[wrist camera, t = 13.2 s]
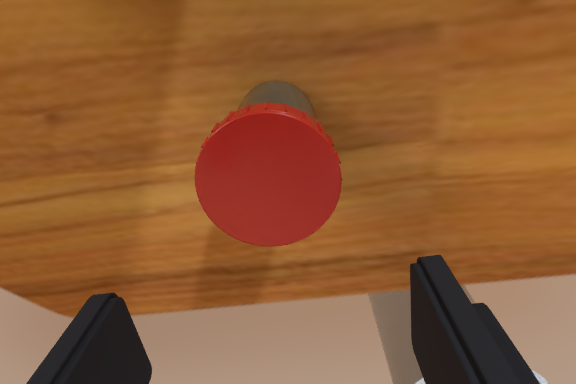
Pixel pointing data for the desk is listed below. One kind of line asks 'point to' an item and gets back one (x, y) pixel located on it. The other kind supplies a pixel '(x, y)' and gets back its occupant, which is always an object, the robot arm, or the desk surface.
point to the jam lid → (268, 175)
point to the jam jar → (279, 96)
